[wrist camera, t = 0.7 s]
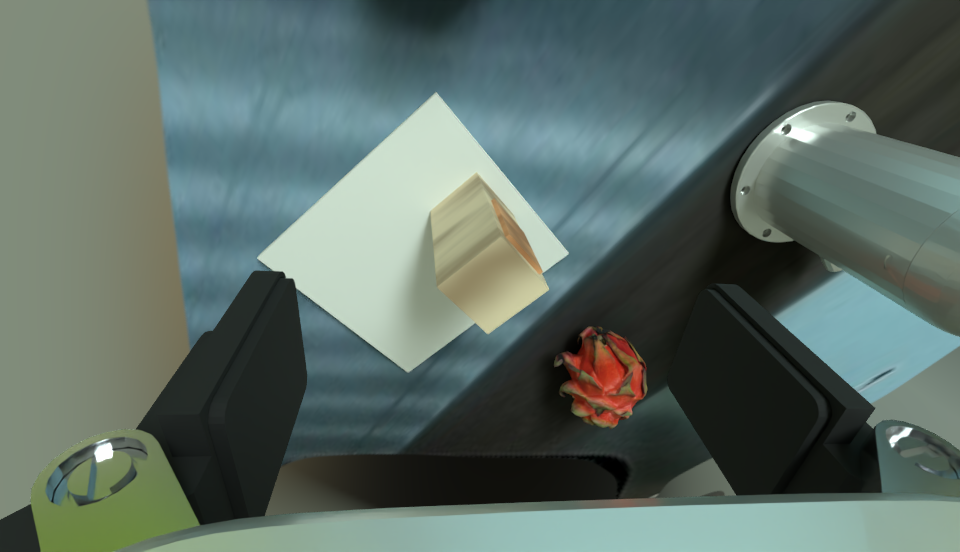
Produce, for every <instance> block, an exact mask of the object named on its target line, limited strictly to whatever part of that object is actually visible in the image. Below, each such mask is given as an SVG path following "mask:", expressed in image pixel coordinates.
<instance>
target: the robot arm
mask: <svg viewBox="0 0 960 552" xmlns="http://www.w3.org/2000/svg"><path fill="white" fill-rule="evenodd" d="M730 201H731V209H732V212H733V215H734V217H735V219H736V221H737V222H738V224H739V225H740V226H741V227H742V228H743V229H744V230H745V231H747V232H748V233H749V234H751V235H753V236H754V237H756V238H758V239H760V240H764V241H767V242H778V243H780V242H789V241H794V240H795V241H796V242H798V243H800V244H801V245H803V246H805V247H806V248H808V249H809V250H811V251H813V252H814V253H816V254H818V255H819V256H820V258H821V261H822V263H823V265H824V267H825V269H826V270H828V271H832V272H836V271H841V270H843V271H845V272H847V273H848V274H850V275H852V276H853V277H855V278H856V279H858V280H860V281H861V282H863V283H864V284H866V285H868V286H869V287H871V288H873V289H874V290H876V291H877V292H879V293H881V294H882V295H884V296H885V297H887V298H889V299H890V300H892V301H894V302H895V303H897V304H898V305H900V306H902V307H903V308H905V309H907V310H908V311H910V312H911V313H913V314H915V315H916V316H918V317H919V318H921V319H923V320H924V321H926V322H928V323H929V324H931V325H933V326H935V327H937V328H939V329H941V330H943V331H945V332H947V333H950V334H953V335H955V336H959V337H960V157H956V156H952V155H949V154H945V153H942V152H938V151H935V150H931V149H927V148H924V147H920V146H917V145H913V144H910V143H906V142H902V141H899V140H895V139H892V138H888V137H884V136H881V135H877V134H876V130H875V128H874V125H873V123H872V121H871V119H870V118H869V117H868V116H867V115H866V114H865V113H864V112H863V111H862V110H860V109H858V108H857V107H855V106H853V105H849V104H845V103H842V102H835V101H819V102H813V103H809V104H806V105H803V106H800V107H798V108H796V109H793V110H791V111H789V112H787V113H785V114H784V115H782V116H781V117H780V118H778V119H777V120H775V121H774V122H772V123H771V124H770V125H769V126H768V127H767V128H766V129H764V130H763V131H762V132H761V133H760V134H759V135H758V136H757V138H756V139H755V140H754V141H753V142H752V143H751V145H750V146H749V147H748V149H747V151H746V152H745V154H744V155H743V157H742V158H741V160H740V162H739V165H738V167H737V169H736V171H735V174H734V178H733V181H732V185H731V194H730ZM667 381H668V386H669V389H670V391H671V392H672V394H673V395H674V397H675V399H676V400H677V402H678V403H679V405H680V406H681V408H682V410H683V411H684V413H685V414H686V416H687V418H688V419H689V421H690V422H691V424H692V425H693V427H694V429H695V430H696V432H697V433H698V435H699V437H700V438H701V440H702V441H703V443H704V444H705V446H706V448H707V449H708V451H709V452H710V454H711V456H712V457H713V459H714V460H715V462H716V463H717V465H718V467H719V468H720V470H721V471H722V473H723V475H724V476H725V478H726V479H727V481H728V483H729V484H730V486H731V487H732V489H733V490H734V492H735V494H736V495H737V496H704V497H676V498H675V497H673V498H642V499H612V500H586V501H585V500H583V501H556V502H529V503H528V502H527V503H502V504H478V505H454V506H429V507H428V506H427V507H406V508H405V507H402V508H381V509H364V510H346V511H329V512H310V513H295V514H294V513H293V514H282V515H272V516H265V512H266V510H267V506H268V504H269V501H270V497H271V494H272V491H273V488H274V485H275V482H276V479H277V476H278V473H279V470H280V467H281V464H282V461H283V458H284V454H285V451H286V448H287V445H288V442H289V439H290V436H291V433H292V430H293V427H294V424H295V421H296V418H297V415H298V411H299V408H300V405H301V402H302V399H303V396H304V393H305V390H306V385H307V370H306V362H305V355H304V347H303V340H302V332H301V324H300V317H299V309H298V301H297V294H296V286H295V281H294V279H293V278H286V276H285V273H284V272H283V271H254V272H253V273H252V274H251V275H250V277H249V278H248V280H247V281H246V283H245V284H244V286H243V287H242V289H241V290H240V292H239V293H238V294H237V296H236V297H235V299H234V300H233V302H232V303H231V305H230V306H229V308H228V309H227V311H226V312H225V314H224V315H223V317H222V318H221V320H220V321H219V323H218V324H217V326H216V327H215V329H214V330H213V331H207V332H205V333H204V334H203V335H202V336H201V337H200V338H199V340H198V341H197V342H196V344H195V345H194V347H193V348H192V350H191V351H190V353H189V354H188V355H187V357H186V358H185V360H184V361H183V362H182V364H181V365H180V367H179V369H178V370H177V371H176V372H175V374H174V375H173V377H172V378H171V380H170V381H169V382H168V384H167V385H166V387H165V388H164V390H163V391H162V392H161V394H160V395H159V397H158V398H157V400H156V401H155V402H154V404H153V405H152V407H151V408H150V410H149V411H148V413H147V414H146V415H145V417H144V418H143V420H142V421H141V423H140V424H139V425H138V427H137V428H136V430H133V429H121V430H116V431H109V432H105V433H102V434H99V435H96V436H93V437H90V438H87V439H85V440H84V441H82V442H80V443H78V444H76V445H74V446H72V447H70V448H68V449H67V450H66V451H64V452H63V453H62V454H60V455H59V456H57V457H56V458H55V459H53V460H52V461H51V462H50V463H49V464H48V465H47V466H46V467H45V468H44V469H43V471H42V472H41V473H40V474H39V475H38V477H37V479H36V481H35V483H34V484H33V486H32V489H31V499H30V502H31V504H30V505H28V506H26V507H24V508H22V509H20V510H18V511H16V512H14V513H13V514H11V515H9V516H7V517H5V518H3V519H1V520H0V552H960V450H959V449H957V448H956V447H955V446H954V445H952V444H951V443H950V442H948V441H946V440H945V439H943V438H941V437H940V436H938V435H936V434H935V433H933V432H930V431H928V430H926V429H924V428H922V427H920V426H917V425H914V424H911V423H908V422H904V421H898V420H883V421H881V422H879V423H878V424H877V425H876V426H875V427H874V429H873V428H871V426H869V425H868V424H867V423H866V421H867V419H868V418H869V417H870V415H871V414H872V412H873V411H874V410H875V408H874V407H873V406H872V405H871V404H870V403H869V402H868V401H867V400H866V399H865V398H863V397H862V396H861V395H860V394H859V393H858V392H857V391H856V390H854V389H853V388H852V387H851V386H850V385H849V384H848V383H847V382H846V381H844V380H843V379H842V378H841V377H840V376H839V375H838V374H837V373H835V372H834V371H833V370H832V369H831V368H830V367H829V366H828V365H827V364H825V363H824V362H823V361H822V360H821V359H820V358H819V357H818V356H817V355H815V354H814V353H813V352H812V351H811V350H810V349H809V348H808V347H806V346H805V345H804V344H803V343H802V342H801V341H800V340H799V339H798V338H796V337H795V336H794V335H793V334H792V333H791V332H790V331H789V330H788V329H786V328H785V327H784V326H783V325H782V324H781V323H780V322H779V321H777V320H776V319H775V318H774V317H773V316H772V315H771V314H770V313H769V312H767V311H766V310H765V309H764V308H763V307H762V306H761V305H760V304H759V303H757V302H756V301H755V300H754V299H753V298H752V297H751V296H750V295H748V294H747V293H746V292H745V291H744V290H743V289H742V288H741V287H739V286H738V285H735V284H710V285H708V286H707V287H706V289H704V290H702V291H701V292H700V293H699V295H698V297H697V300H696V302H695V305H694V308H693V310H692V313H691V315H690V318H689V321H688V323H687V326H686V328H685V331H684V334H683V336H682V339H681V341H680V344H679V347H678V349H677V352H676V355H675V357H674V360H673V362H672V365H671V368H670V370H669V373H668V378H667Z"/></svg>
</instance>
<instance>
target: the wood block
mask: <svg viewBox="0 0 960 552" xmlns="http://www.w3.org/2000/svg"><path fill="white" fill-rule="evenodd" d="M430 212H431V225H432V237H433V249H434V261H435V273H436V286H437V288H438V289H439V290H440V291H441V292H442V293H444V294H445V295H446V296H447V297H448V298H449V299H450V300H451V301H452V302H453V303H454V304H455V305H457V306H458V307H459V308H460V309H461V310H462V311H463V312H464V313H465V314H466V315H467V316H469V317H470V318H471V319H472V320H473V321H474V322H475V323H476V324H477V325H478V326H479V327H480V328H482V329H483V330H484V331H485V332H486V333H487V334H489V333H490V332H492V331H493V330H494V329H496V328H497V327H498V326H500V325H501V324H503V323H504V322H505V321H507V320H508V319H510V318H511V317H512V316H514V315H515V314H516V313H518V312H519V311H521V310H522V309H523V308H525V307H526V306H527V305H529V304H530V303H532V302H533V301H534V300H536V299H537V298H538V297H540V296H541V295H543V294H544V293H545V292H547V291H548V290H549V288H548V286H547V284H546V281H545V279H544V277H543V275H542V272H543V271H542V269H541V266H540V264H539V262H538V260H537V258H536V256H535V254H534V252H533V250H532V248H531V246H530V244H529V242H528V240H527V238H526V236H525V234H524V232H523V231H522V229H521V228H520V227H519V225H518V223H517V221H516V219H515V217H514V215H513V213H512V212H511V211H510V210H509V209H508V208H507V206H506V205H505V204H504V203H503V202H502V201H501V199H500V198H499V197H498V196H497V195H496V194H495V192H494V191H493V190H492V189H491V188H490V187H489V186H488V184H487V183H486V182H485V181H484V180H483V179H482V177H481V176H480V175H479V174H478V173H477V172H476V173H475V174H474V175H472V176H471V177H470V178H469V179H468V180H466V181H465V182H464V183H463V184H462V185H461V186H459V187H458V188H457V189H456V190H455V191H453V192H452V193H451V194H450V195H449V196H447V197H446V198H445V199H444V200H443V201H442V202H440V203H439V204H438V205H437V206H436V207H434V208H433V209H432V210H431V211H430Z"/></svg>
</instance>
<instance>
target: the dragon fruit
mask: <svg viewBox="0 0 960 552" xmlns="http://www.w3.org/2000/svg"><path fill="white" fill-rule="evenodd" d="M596 327H597V328H596ZM596 327H591V326H588V327H587V328H586V329H584V331H583V332H582V333H580V334H579V335H578V336H579V338H578V341H577V342H578V344H579V342H582V341H583V342H582V347H581V349H580V350H579V352H578V354H572V353H570V352H568V351H566V352H563V353H559V354H558V355H557V356H556V358H555V361H554V367H557V366H559V365H561V364H562V363H564V364H563V365H564V366H565V367H566V368H567V370H568V372H569V373H570V375H571V378H572V379H571V380H569V381H566V382H564V383H563V384H562V385H561V387H560V391H559V394H560V395H561V396H563V397H565V394H564V392H565V393H567V394H570V395H572V398H573V400H574V401H573V403H572V406H571V412H572V413H573V414H575V415H577V416H579V417H582V420H583V421H584V422H585V423H587V424H592V425H597V426H598V427H601V428H605V427H609V428H610V429H612V428H614V427H615V426H616V425H617V424H618V420H624V419H627V418H628V417H629V416H631V415H632V407H633V406H634V405H635V403H636V402H637V401H638V400H641V399H643V398H644V396H645V395H646V393H647V385H646V364H645V362H644V361H643V359H642V358H641V357H640V356H639V354H638V353H637V352H636V350H635V349H634V347H633V345H632V344H630V343H631V342H630V341H629V340H628V338H627V337H625V336H624V338H625V339H624V338H622V337H620V336H619V335H617V334H615V333H613V332H612V331H610V330H608V329H604V330H603V329H602V327H598V326H596ZM595 331H596V332H598V333H596V332H595ZM578 344H577V345H578ZM629 344H630V345H629Z"/></svg>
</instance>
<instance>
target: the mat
mask: <svg viewBox="0 0 960 552" xmlns="http://www.w3.org/2000/svg"><path fill="white" fill-rule="evenodd" d="M476 172H477V173H478V174H479V175H480V176H481V177H482V179H483V180H484V181H485V182H486V183H487V184H488V186H489V187H490V188H491V189H492V190H493V191H494V192H495V194H496V195H497V196H498V197H499V198H500V199H501V201H502V202H503V203H504V204H505V205H506V206H507V208H508V209H509V210H510V211H511V212H512V213H513V215H514V217H515V219H516V221H517V223H518V225H519V227H520V228H521V229H522V231H523V232H524V234H525V236H526V238H527V240H528V242H529V244H530V246H531V248H532V250H533V252H534V254H535V256H536V258H537V260H538V262H539V264H540V266H541V269H542V271H543V272H542V273H544V272H545V271H546V270H548V269H549V268H550V267H552V266H553V265H554V264H556V263H557V262H558V261H560V260H561V259H563V258H564V257H565V256H567V255H568V254H569V253H568V251H567V250H566V249H565V248H564V246H563V245H562V244H561V243H560V242H559V240H558V239H557V238H556V237H555V236H554V234H553V233H552V232H551V231H550V229H549V228H548V227H547V226H546V225H545V223H544V222H543V221H542V220H541V219H540V217H539V216H538V215H537V214H536V212H535V211H534V210H533V209H532V208H531V206H530V205H529V204H528V203H527V202H526V200H525V199H524V198H523V197H522V195H521V194H520V193H519V192H518V191H517V189H516V188H515V187H514V186H513V185H512V183H511V182H510V181H509V180H508V178H507V177H506V176H505V175H504V174H503V172H502V171H501V170H500V169H499V168H498V166H497V165H496V164H495V163H494V162H493V160H492V159H491V158H490V157H489V155H488V154H487V153H486V152H485V151H484V149H483V148H482V147H481V146H480V145H479V143H478V142H477V141H476V140H475V138H474V137H473V136H472V135H471V134H470V132H469V131H468V130H467V129H466V128H465V126H464V125H463V124H462V123H461V121H460V120H459V119H458V118H457V117H456V115H455V114H454V113H453V112H452V111H451V109H450V108H449V107H448V106H447V104H446V103H445V102H444V101H443V100H442V98H441V97H440V96H439V95H438V94H437V92H435V93H434V94H433V95H432V96H431V97H430V98H429V99H428V100H427V101H425V102H424V103H423V104H422V105H421V106H420V107H419V108H418V109H417V110H416V111H415V112H414V113H412V114H411V115H410V116H409V117H408V118H407V119H406V120H405V121H404V122H403V123H402V124H401V125H399V126H398V127H397V128H396V129H395V130H394V131H393V132H392V133H391V134H390V135H389V136H388V137H386V138H385V139H384V140H383V141H382V142H381V143H380V144H379V145H378V146H377V147H376V148H374V149H373V150H372V151H371V152H370V153H369V154H368V155H367V156H366V157H365V158H364V159H363V160H361V161H360V162H359V163H358V164H357V165H356V166H355V167H354V168H353V169H352V170H351V171H350V172H348V173H347V174H346V175H345V176H344V177H343V178H342V179H341V180H340V181H339V182H338V183H337V184H335V185H334V186H333V187H332V188H331V189H330V190H329V191H328V192H327V193H326V194H325V195H323V196H322V197H321V198H320V199H319V200H318V201H317V202H316V203H315V204H314V205H313V206H312V207H310V208H309V209H308V210H307V211H306V212H305V213H304V214H303V215H302V216H301V217H300V218H299V219H297V220H296V221H295V222H294V223H293V224H292V225H291V226H290V227H289V228H288V229H287V230H286V231H284V232H283V233H282V234H281V235H280V236H279V237H278V238H277V239H276V240H275V241H274V242H272V243H271V244H270V245H269V246H268V247H267V248H266V249H265V250H264V251H263V252H262V253H261V254H259V256H258V257H257V259H259V260H260V261H261V262H263V263H264V264H265V265H267V266H268V267H269V268H270V269H272V270H273V271H283V272H284V273H285V276H286V278H293V279H294V281H295V286H296V288H297V289H298V290H300V291H301V292H302V293H303V294H305V295H306V296H307V297H309V298H310V299H311V300H313V301H314V302H315V303H317V304H318V305H319V306H321V307H322V308H323V309H325V310H326V311H327V312H329V313H330V314H331V315H332V316H334V317H335V318H336V319H338V320H339V321H340V322H342V323H343V324H344V325H346V326H347V327H348V328H350V329H351V330H352V331H354V332H355V333H356V334H358V335H359V336H360V337H362V338H363V339H364V340H365V341H367V342H368V343H369V344H371V345H372V346H373V347H375V348H376V349H377V350H379V351H380V352H381V353H383V354H384V355H385V356H387V357H388V358H389V359H391V360H392V361H393V362H394V363H396V364H397V365H398V366H400V367H401V368H402V369H404V370H405V371H406V372H410V371H411V370H413V369H414V368H415V367H417V366H418V365H419V364H421V363H422V362H423V361H425V360H426V359H427V358H429V357H430V356H431V355H433V354H434V353H435V352H437V351H438V350H440V349H441V348H442V347H444V346H445V345H446V344H448V343H449V342H450V341H452V340H453V339H454V338H456V337H457V336H458V335H460V334H461V333H463V332H464V331H465V330H467V329H468V328H469V327H471V326H472V325H473V324H475V322H474V321H473V320H472V319H471V318H470V317H469V316H467V315H466V314H465V313H464V312H463V311H462V310H461V309H460V308H459V307H458V306H457V305H455V304H454V303H453V302H452V301H451V300H450V299H449V298H448V297H447V296H446V295H445V294H444V293H442V292H441V291H440V290H439V289H438V288H437V286H436V273H435V261H434V249H433V237H432V225H431V212H430V211H431V210H432V209H433V208H434V207H436V206H437V205H438V204H439V203H440V202H442V201H443V200H444V199H445V198H446V197H447V196H449V195H450V194H451V193H452V192H453V191H455V190H456V189H457V188H458V187H459V186H461V185H462V184H463V183H464V182H465V181H466V180H468V179H469V178H470V177H471V176H472V175H474V174H475V173H476Z"/></svg>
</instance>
